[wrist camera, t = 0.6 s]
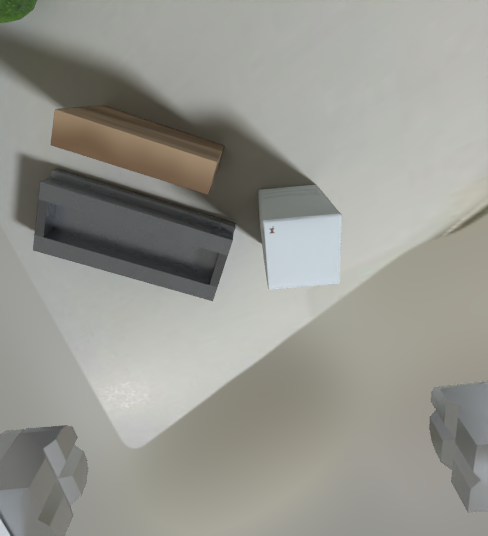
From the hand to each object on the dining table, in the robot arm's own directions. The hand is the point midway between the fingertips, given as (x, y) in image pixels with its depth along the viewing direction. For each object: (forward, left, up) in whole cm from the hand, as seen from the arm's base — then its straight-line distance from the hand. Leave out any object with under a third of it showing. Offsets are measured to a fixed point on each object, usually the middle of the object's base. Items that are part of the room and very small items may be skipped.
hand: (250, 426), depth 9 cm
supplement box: (+5, +7, -40) cm, 41 cm away
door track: (+13, -10, -40) cm, 43 cm away
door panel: (+1, -10, -40) cm, 41 cm away
